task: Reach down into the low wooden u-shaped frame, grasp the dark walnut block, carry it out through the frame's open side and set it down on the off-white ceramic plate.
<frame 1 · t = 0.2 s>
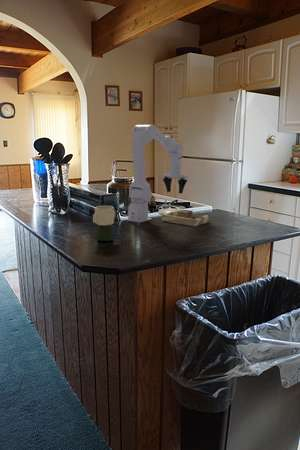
hand: (174, 192, 197), 10 cm above the worktop, tool pointing down, fingers open, 7 cm apart
walnut block: (185, 216, 176), in the wooden u-shaped frame
wooden u-shaped frame: (184, 221, 177), on the worktop
lion figurine: (144, 206, 213), on the worktop
ceramic plate: (172, 213, 194), on the worktop
character mug: (105, 241, 144), on the worktop
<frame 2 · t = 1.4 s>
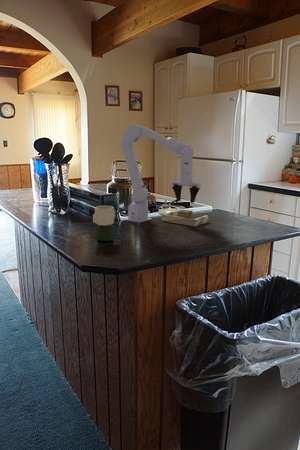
hand: (185, 201, 175), 9 cm above the worktop, tool pointing down, fingers open, 7 cm apart
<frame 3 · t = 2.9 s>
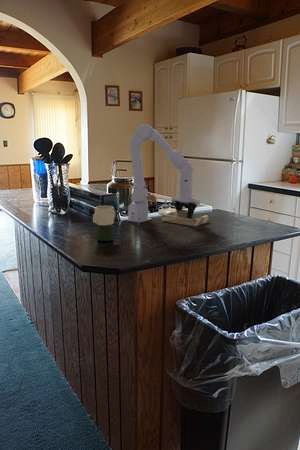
hand: (185, 218, 176), 1 cm above the worktop, tool pointing down, fingers closed on walnut block, 5 cm apart
walnut block: (185, 216, 176), in the wooden u-shaped frame, touching gripper
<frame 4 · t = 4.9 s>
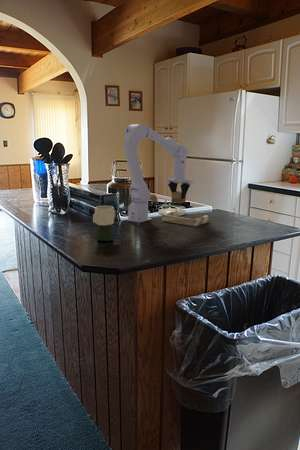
hand: (178, 197, 187), 9 cm above the worktop, tool pointing down, fingers closed on walnut block, 5 cm apart
walnut block: (178, 197, 187), point 9 cm above the worktop, touching gripper
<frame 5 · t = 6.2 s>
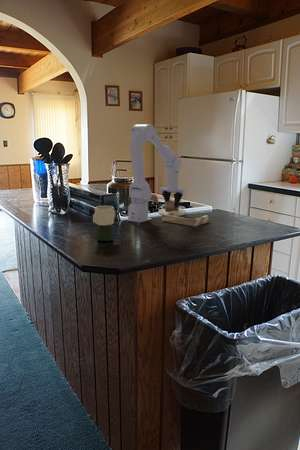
hand: (172, 206, 193), 4 cm above the worktop, tool pointing down, fingers closed on walnut block, 5 cm apart
walnut block: (172, 206, 193), point 4 cm above the worktop, touching gripper
when the fingers open (3 cm above the worktop, at t = 7.2 s): walnut block stays where it is, resting on ceramic plate.
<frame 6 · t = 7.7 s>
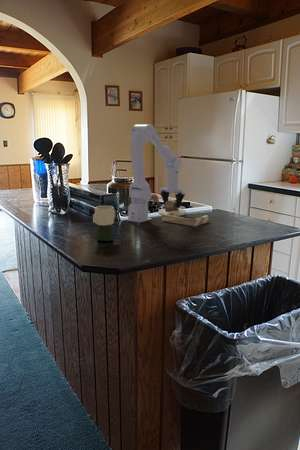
hand: (172, 206, 193), 3 cm above the worktop, tool pointing down, fingers open, 7 cm apart
walnut block: (171, 206, 193), on the ceramic plate, point 4 cm above the worktop
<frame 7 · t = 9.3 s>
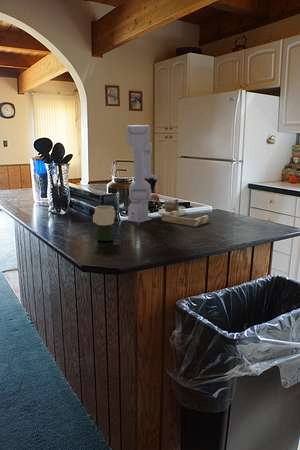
hand: (145, 192, 195), 10 cm above the worktop, tool pointing down, fingers open, 7 cm apart
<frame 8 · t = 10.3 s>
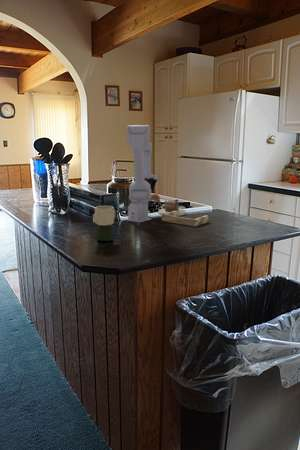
hand: (145, 192, 195), 10 cm above the worktop, tool pointing down, fingers open, 7 cm apart
at the end: walnut block 0.2 cm from the ceramic plate (horizontally); walnut block point 3.7 cm above the worktop; walnut block tilted 0° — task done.
